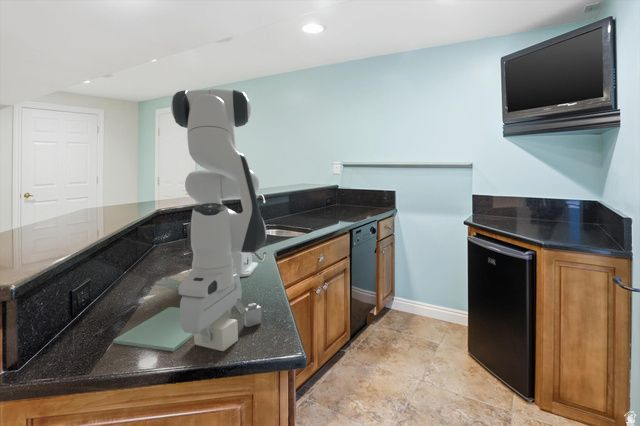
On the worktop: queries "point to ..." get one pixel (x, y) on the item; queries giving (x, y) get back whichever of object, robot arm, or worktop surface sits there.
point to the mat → (158, 332)
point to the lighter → (249, 313)
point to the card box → (220, 334)
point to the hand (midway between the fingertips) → (216, 334)
